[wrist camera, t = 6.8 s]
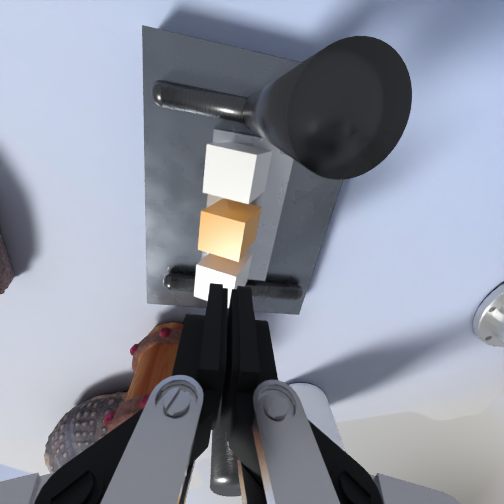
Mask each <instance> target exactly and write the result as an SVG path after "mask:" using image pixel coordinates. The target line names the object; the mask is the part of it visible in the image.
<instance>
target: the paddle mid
mask: <svg viewBox="0 0 504 504" xmlns="http://www.w3.org/2000/svg"><path fill="white" fill-rule="evenodd" d="M261 208H262V207H260V206H256V205H252V204H245V203H242V202H238V201H234V200H230V199H226V198H223V199H221V200H219V201H218V202H216V203H214V204H212V205H210V206H209V207H207V208H205V209H203V210H202V211H201V217H200V228H199V240H198V250H201V251H204V252H207V253H211V254H214V255H217V256H220V257H224V258H227V259H230V260H234V261H237V262H239V261H240V260H241V258H242V257H243V256H244V254H245V253H246V252H247V250H248V249H249V248H250V247H251V245H252V244H253V243H254V241H255V239H256V234H257V229H258V223H259V218H260V213H261Z"/></svg>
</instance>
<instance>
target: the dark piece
mask: <svg viewBox="0 0 504 504" xmlns="http://www.w3.org/2000/svg"><path fill="white" fill-rule="evenodd" d="M142 41H143V99H144V156H145V214H146V271H147V303H148V304H162V305H175V306H189V307H202V308H207V301H206V300H203V299H201V298H198V297H195V296H194V287H195V276H196V264H198V263H199V262H200V261H201V260H202V259H203V258H204V257H205V256H206V255H207V254H208V253H207V252H204V251H201V250H198V240H199V228H200V217H201V211H202V210H203V209H205V208H207V207H209V206H210V205H212V204H214V203H216V202H218V201H219V200H221V199H223V198H222V197H218V196H215V195H211V194H207V193H203V181H204V170H205V158H206V146H207V144H213V143H225V142H234V143H239V144H243V145H248V146H253V147H257V148H262V149H266V150H271V151H273V152H272V157H271V162H270V167H269V172H268V177H267V183H266V188H265V192H263V193H262V194H261V195H260V196H258V197H257V198H256V199H254V200H253V201H252V202H251V203H249V204H252V205H256V206H260V207H262V208H261V213H260V218H259V223H258V229H257V234H256V239H255V241H254V243H253V244H252V245H251V247H250V248H249V249H248V250H247V252H249V253H252V259H251V264H250V269H249V275H248V280H247V283H246V284H245V287H251V291H252V300H253V309H254V311H256V312H270V313H283V314H297V315H299V313H300V310H301V306H302V303H303V300H304V297H305V294H306V291H307V288H308V285H309V282H310V279H311V276H312V273H313V270H314V267H315V264H316V261H317V258H318V255H319V252H320V249H321V246H322V242H323V239H324V236H325V233H326V230H327V227H328V224H329V221H330V218H331V215H332V212H333V209H334V206H335V203H336V200H337V197H338V194H339V191H340V188H341V185H342V182H343V179H349V178H353V177H357V176H360V175H362V174H364V173H366V172H368V171H370V170H371V169H373V168H374V167H376V166H377V165H378V164H380V163H381V162H382V161H383V160H384V159H385V158H386V157H387V156H388V155H389V154H390V153H391V151H392V150H393V149H394V147H395V146H396V145H397V143H398V141H399V140H400V138H401V136H402V134H403V132H404V130H405V127H406V124H407V122H408V119H409V114H410V110H411V102H412V88H411V80H410V76H409V73H408V70H407V67H406V65H405V63H404V61H403V60H402V58H401V56H400V55H399V54H398V53H397V52H396V50H395V49H393V48H392V47H391V46H390V45H389V44H387V43H385V42H383V41H382V40H379V39H376V38H374V37H368V36H354V37H348V38H345V39H342V40H339V41H337V42H335V43H333V44H331V45H329V46H327V47H326V48H324V49H323V50H321V51H320V52H318V53H316V54H315V55H313V56H312V57H310V58H309V59H307V60H306V61H304V62H303V63H301V62H297V61H292V60H288V59H284V58H280V57H275V56H271V55H267V54H263V53H258V52H254V51H250V50H246V49H241V48H237V47H233V46H229V45H224V44H220V43H216V42H211V41H207V40H203V39H199V38H194V37H190V36H186V35H182V34H177V33H173V32H169V31H165V30H160V29H156V28H152V27H148V26H143V25H142ZM228 309H229V308H228ZM220 413H221V401H220V406H219V412H218V417H217V423H216V428H215V430H213V431H212V455H211V480H210V488H211V490H212V491H213V492H214V493H216V494H218V495H222V496H241V489H240V481H239V474H238V467H237V456H236V455H235V454H234V453H233V452H232V450H231V449H230V448H229V441H226V430H220Z"/></svg>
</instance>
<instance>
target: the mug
mask: <svg viewBox="0 0 504 504" xmlns="http://www.w3.org/2000/svg"><path fill="white" fill-rule="evenodd" d="M182 328H183V324H181V323H174V322H172V323H166V324H161V325H158V326H156V327H155V328H154V329H153V330H152V331H151V332H150V333H149V335H148V336H146V337H145V338H144V339H143V340H142V341H141V342H140V343H139V344H135V345H134V346H133V347H132V348H131V349H130V353H131V355H133V360H132V369H133V372H134V377H133V380H132V382H131V385H130V388H129V390H128V393H127V395H126V399H125V402H124V403H123V404H122V405H121V406H119V407H118V408H117V409H116V410H114V411H111V412H109V413H108V414H107V415H106V416H105V418H104V425H105V426H106V427H107V428H108V431H107V434H108V433H109V432H111V431H112V430H113V429H115V428H116V427H118V426H119V425H120V424H122V423H123V422H125V421H126V420H127V419H129V418H130V417H132V416H133V415H134V414H136V413H137V412H139V411H140V410H141V409H143V408H144V407H145V405H146V403H147V401H148V399H149V397H150V395H151V393H152V391H153V390H154V388H155V386H156V385H158V384H159V383H160V382H161V381H162V380H164V379H166V378H168V377H170V376H172V371H173V367H174V363H175V359H176V354H177V350H178V346H179V341H180V337H181V333H182Z"/></svg>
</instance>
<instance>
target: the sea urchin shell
mask: <svg viewBox="0 0 504 504" xmlns="http://www.w3.org/2000/svg"><path fill="white" fill-rule="evenodd" d="M127 393H128V392H116V393H114V394H108V395H98V396H96V397H93V398H91V399H89V400H86V401H85V402H82V403H80V404H79V405H77V406H76V407H74V408H72V409H71V410H70V411H69V412H68V413H66V414H65V415H64V416H63V418H62V419H61V420H60V422H58V424H57V426H56V427H55V428H54V430H53V432H52V433H51V434H50V435H49V436H48V442H47V444H46V446H45V447H46V450H45V454H44V457H45V464H46V466H47V468H48V470H49V472H50V473H55V472H56V471H57V470H58V469H59V468H61V467H62V466H63V465H64V464H66V463H67V462H69V461H70V460H71V459H73V458H74V457H76V456H77V455H78V454H80V453H81V452H83V451H84V450H85V449H87V448H88V447H90V446H91V445H92V444H94V443H95V442H97V441H98V440H99V439H101V438H102V437H104V436H105V435H106V434H107V431H108V428H107V427H106V426H105V425H104V418H105V416H106V415H107V414H108V413H109V412H111V411H114V410H116V409H117V408H118V407H119V406H121V405H122V404H123V403H124V402H125V399H126V395H127Z"/></svg>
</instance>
